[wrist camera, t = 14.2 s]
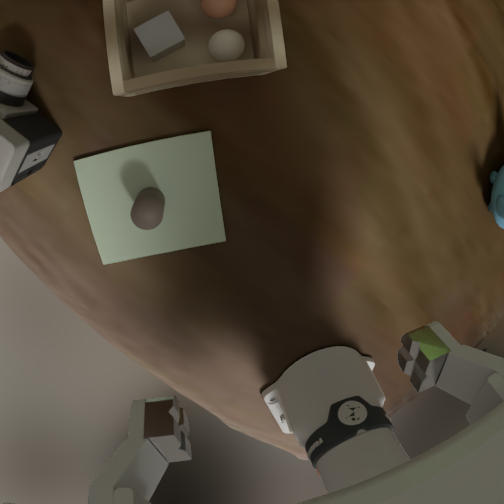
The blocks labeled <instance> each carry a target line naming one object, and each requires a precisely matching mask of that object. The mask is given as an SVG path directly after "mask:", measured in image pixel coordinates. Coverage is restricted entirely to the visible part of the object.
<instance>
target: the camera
mask: <svg viewBox="0 0 504 504" xmlns="http://www.w3.org/2000/svg"><path fill="white" fill-rule="evenodd" d="M32 70H33V65H32V64H31V63H30V62H28V61H27V60H26V59H24V58H22V57H21V56H19V55H17V54H14V53H12V52H9V51H3V52H2V53H1V54H0V192H1V191H3V190H5V189H6V188H8V187H10V186H12V185H14V184H16V183H17V182H19V181H21V180H22V179H24V178H26V177H27V176H29V175H31V174H33V173H34V172H36V171H38V170H40V169H41V168H42V167H43V166H44V165H45V163H46V161H47V160H48V158H49V156H50V154H51V152H52V151H53V149H54V147H55V145H56V144H57V142H58V140H59V138H60V137H61V135H62V131H61V130H60V129H59V128H58V127H57V126H55V125H54V124H52V123H51V122H50V121H48V120H47V119H46V118H44V117H43V116H42V115H40V114H39V113H38V112H37V111H38V108H37V107H35V106H34V105H33V104H31V103H30V102H29V101H27V100H26V96H27V94H28V92H29V90H30V88H31V86H32V83H33V81H34V80H33V77H32V76H31V75H30V73H31V72H32Z"/></svg>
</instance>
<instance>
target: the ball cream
mask: <svg viewBox="0 0 504 504" xmlns="http://www.w3.org/2000/svg"><path fill="white" fill-rule="evenodd" d="M208 50H209V53H210V54H211V56H212V57H213V58H214V59H216V60H218V61H220V62H228V61H235V60H237V59H238V58H239V57H240V56H241V55H242V54H243V52H244V50H245V41H244V39H243V37H242V36H241V35H240V34H239V33H238V32H236V31H234V30H230V29H224V30H220V31H218V32H216V33H215V34H214V35H212V37H211V38H210V40H209V43H208Z"/></svg>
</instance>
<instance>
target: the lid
mask: <svg viewBox="0 0 504 504" xmlns="http://www.w3.org/2000/svg"><path fill="white" fill-rule="evenodd" d="M74 165H75V170H76V174H77V178H78V182H79V186H80V190H81V194H82V197H83V201H84V205H85V208H86V212H87V215H88V219H89V222H90V225H91V229H92V232H93V235H94V238H95V241H96V244H97V247H98V250H99V253H100V256H101V259H102V262H103V265H105V264H110V263H115V262H120V261H125V260H130V259H135V258H140V257H145V256H150V255H156V254H161V253H166V252H171V251H176V250H181V249H187V248H192V247H197V246H202V245H208V244H213V243H218V242H224V241H226V237H225V230H224V223H223V217H222V210H221V203H220V196H219V189H218V182H217V175H216V167H215V160H214V153H213V145H212V138H211V131H205V132H198V133H192V134H187V135H181V136H176V137H170V138H165V139H160V140H155V141H151V142H146V143H141V144H137V145H133V146H128V147H124V148H120V149H116V150H112V151H108V152H104V153H100V154H97V155H93V156H89V157H86V158H82V159H79V160H75V161H74Z"/></svg>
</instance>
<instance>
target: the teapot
mask: <svg viewBox="0 0 504 504" xmlns="http://www.w3.org/2000/svg"><path fill="white" fill-rule="evenodd" d="M490 182H491V183H493V187H492V192H491V201H490V203H489V206H488V210H489V211H490V212H491V211H492V213H493V216H494V219H495V221H496V223H497V224H498V225H499V226H500V227H501V228H503V229H504V165H503V166H502V167H501V169H500V170H499V172H498V173H497V172H496V171H492V173H491V175H490Z"/></svg>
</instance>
